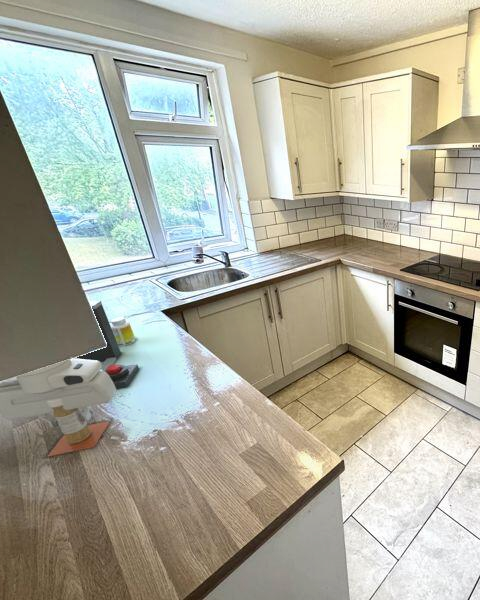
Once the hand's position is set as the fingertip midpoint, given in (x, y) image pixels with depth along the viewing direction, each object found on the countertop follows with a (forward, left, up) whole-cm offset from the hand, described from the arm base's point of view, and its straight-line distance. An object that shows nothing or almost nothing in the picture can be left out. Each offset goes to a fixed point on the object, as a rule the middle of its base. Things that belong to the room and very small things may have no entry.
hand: (72, 422), depth 80 cm
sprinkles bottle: (0, 0, -5) cm, 5 cm away
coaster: (0, 0, -6) cm, 6 cm away
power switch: (-1, +25, -6) cm, 26 cm away
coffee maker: (-12, +36, -6) cm, 38 cm away
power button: (-1, +25, -2) cm, 25 cm away
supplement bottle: (-8, +52, -6) cm, 53 cm away
